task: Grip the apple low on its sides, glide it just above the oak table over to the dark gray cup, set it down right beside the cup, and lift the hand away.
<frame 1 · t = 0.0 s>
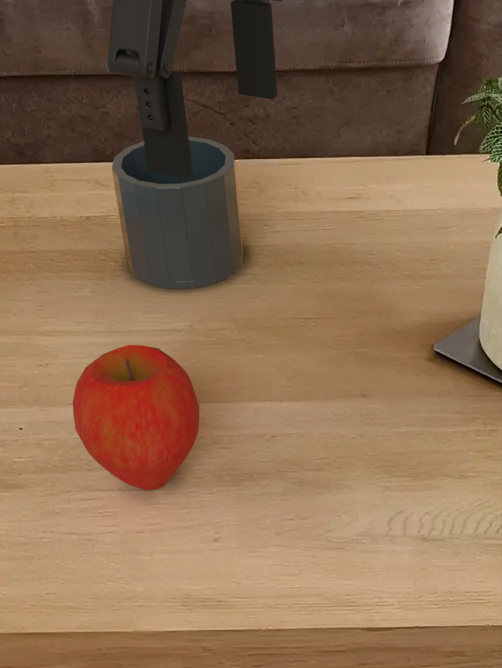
hand: (217, 131, 79), 22 cm above the table, tool pointing down, fingers open, 13 cm apart
apple: (149, 482, 85), on the table
dark gray cup: (186, 260, 110), on the table
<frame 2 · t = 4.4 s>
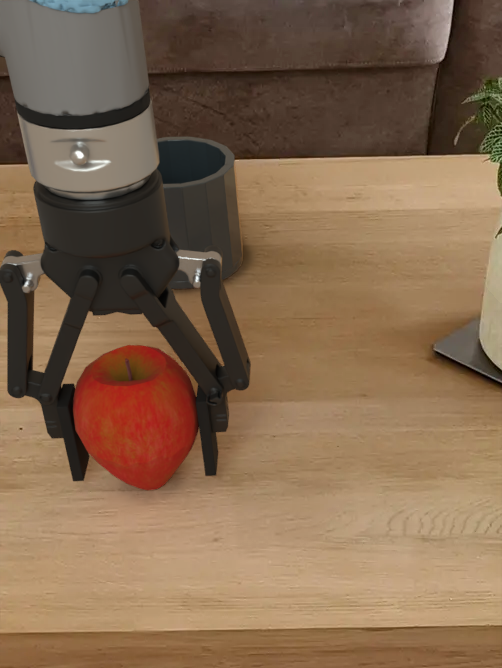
hand: (146, 466, 84), 1 cm above the table, tool pointing down, fingers closed on apple, 8 cm apart
apple: (149, 482, 85), on the table, touching gripper
when the fingers open (1 cm above the table, at t = 10.0 s): apple stays where it is, on the table.
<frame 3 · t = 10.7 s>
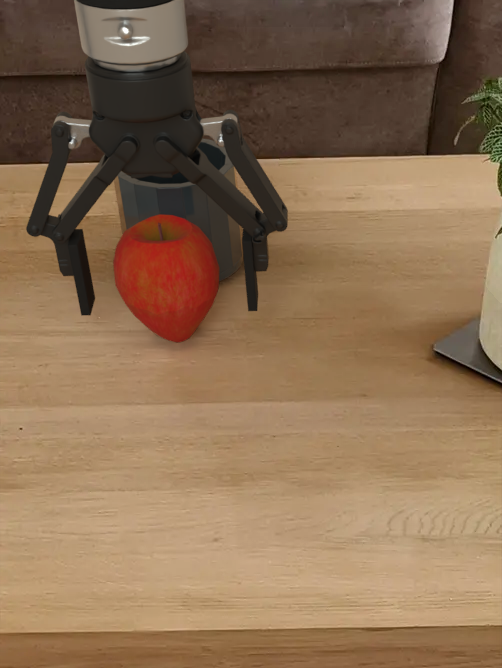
hand: (171, 305, 98), 3 cm above the table, tool pointing down, fingers open, 13 cm apart
apple: (176, 337, 100), on the table
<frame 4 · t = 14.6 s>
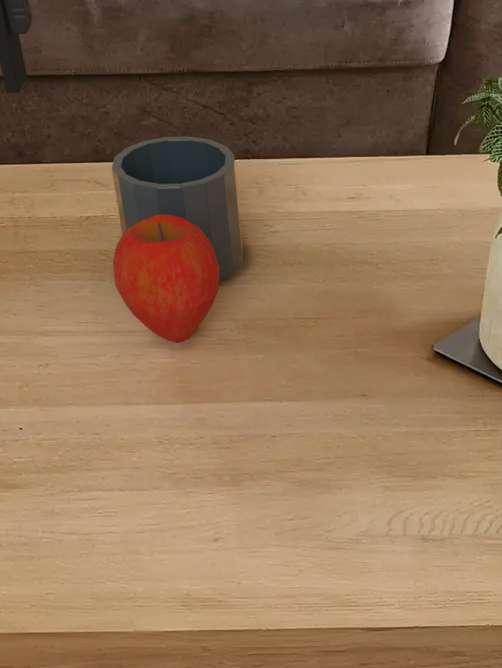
nothing on the table moved.
at the end: apple 13.0 cm from the dark gray cup (horizontally); apple moved 19.3 cm from its start; apple on the table; the gripper is holding nothing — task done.
